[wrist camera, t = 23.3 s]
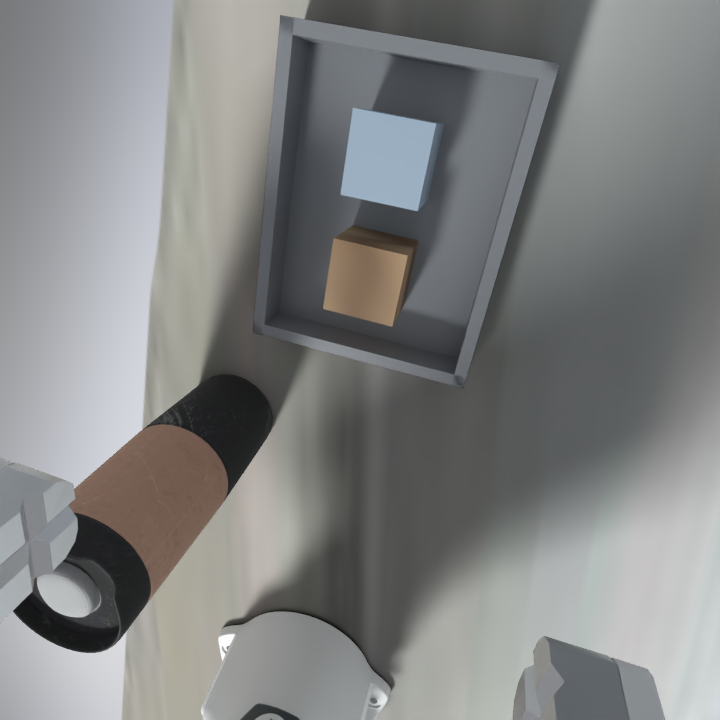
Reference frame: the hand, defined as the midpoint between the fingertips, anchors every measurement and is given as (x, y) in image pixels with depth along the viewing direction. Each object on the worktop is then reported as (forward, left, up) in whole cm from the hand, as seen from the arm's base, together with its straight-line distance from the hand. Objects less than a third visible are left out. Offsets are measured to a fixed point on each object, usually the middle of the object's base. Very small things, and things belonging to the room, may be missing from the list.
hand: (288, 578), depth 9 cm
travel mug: (-18, +14, -29) cm, 37 cm away
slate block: (+4, +4, -28) cm, 29 cm away
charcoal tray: (+1, +4, -29) cm, 29 cm away
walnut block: (-3, +4, -28) cm, 29 cm away
